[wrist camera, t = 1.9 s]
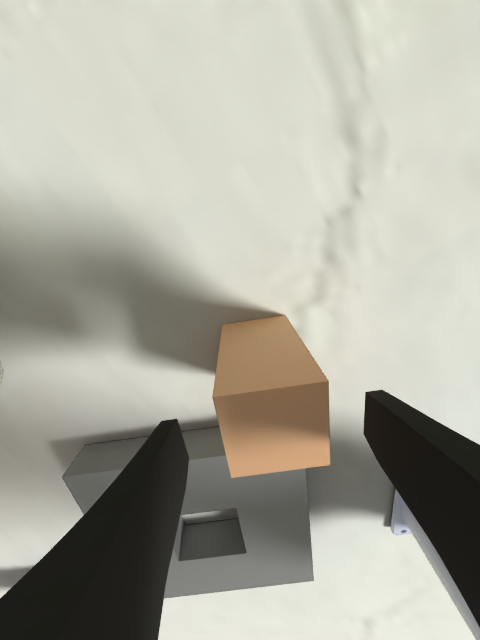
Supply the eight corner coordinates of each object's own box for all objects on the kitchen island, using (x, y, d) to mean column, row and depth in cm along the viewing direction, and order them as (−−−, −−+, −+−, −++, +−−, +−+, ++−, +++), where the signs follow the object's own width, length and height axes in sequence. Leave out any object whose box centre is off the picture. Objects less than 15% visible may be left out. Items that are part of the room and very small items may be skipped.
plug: (285, 315, 14) (328, 380, 8) (290, 369, 16) (330, 465, 9) (222, 324, 15) (212, 397, 8) (232, 378, 16) (231, 477, 9)
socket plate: (294, 416, 17) (303, 444, 15) (305, 544, 23) (313, 580, 20) (85, 445, 18) (61, 477, 15) (145, 564, 23) (135, 601, 21)
